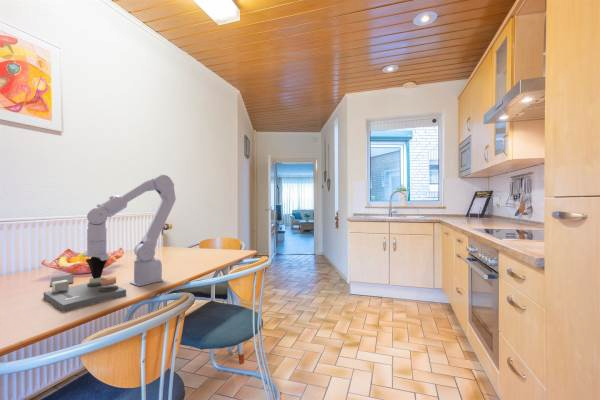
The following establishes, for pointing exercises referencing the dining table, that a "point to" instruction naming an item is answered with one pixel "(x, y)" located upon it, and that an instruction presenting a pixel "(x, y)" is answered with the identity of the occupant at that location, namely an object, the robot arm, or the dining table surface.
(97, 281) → the sage button
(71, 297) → the control panel
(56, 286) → the slider knob
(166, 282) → the dining table surface
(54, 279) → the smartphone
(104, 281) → the terracotta button
